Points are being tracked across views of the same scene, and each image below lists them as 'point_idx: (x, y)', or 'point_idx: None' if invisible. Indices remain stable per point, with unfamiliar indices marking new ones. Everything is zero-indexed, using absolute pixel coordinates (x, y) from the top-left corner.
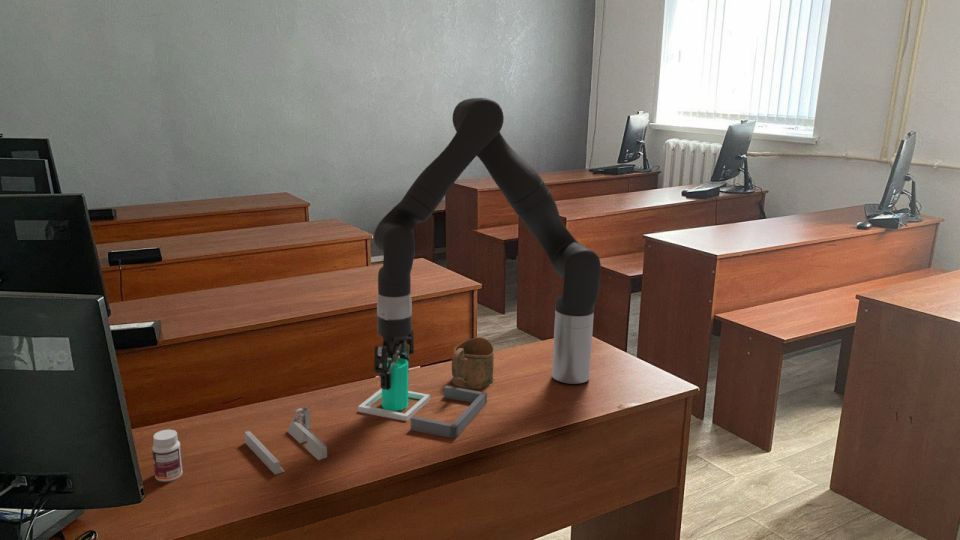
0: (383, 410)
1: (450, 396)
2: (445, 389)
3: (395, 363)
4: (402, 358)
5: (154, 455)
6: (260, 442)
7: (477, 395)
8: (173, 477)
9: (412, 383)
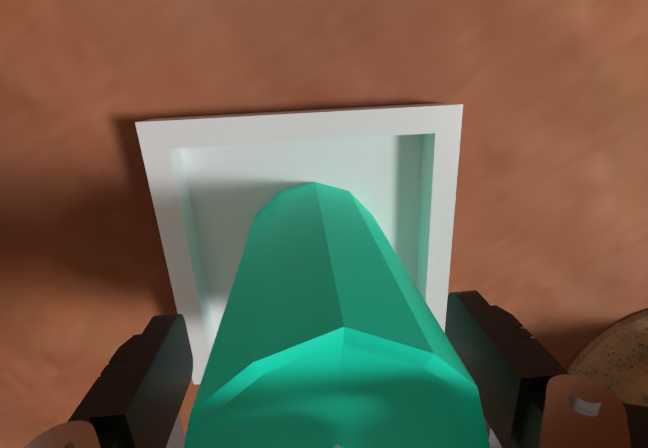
0: (180, 272)
1: None
2: (485, 421)
3: (371, 435)
4: (532, 420)
5: None
6: None
7: None
8: None
9: (611, 166)
